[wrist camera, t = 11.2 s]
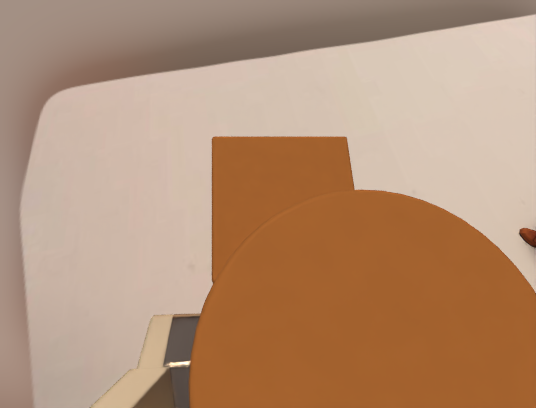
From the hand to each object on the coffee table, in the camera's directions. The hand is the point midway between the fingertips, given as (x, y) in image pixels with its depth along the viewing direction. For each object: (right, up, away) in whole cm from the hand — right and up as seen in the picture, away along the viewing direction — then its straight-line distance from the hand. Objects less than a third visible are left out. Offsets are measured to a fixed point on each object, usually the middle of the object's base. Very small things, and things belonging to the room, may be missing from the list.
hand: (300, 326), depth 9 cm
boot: (-1, 0, +6) cm, 6 cm away
